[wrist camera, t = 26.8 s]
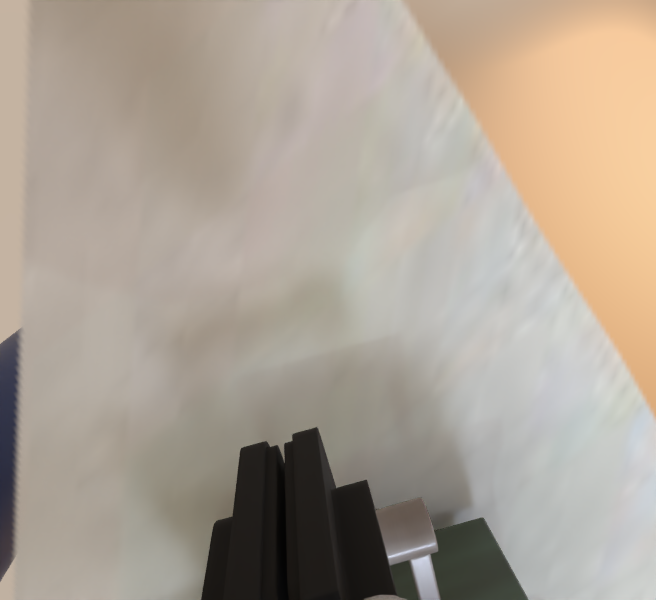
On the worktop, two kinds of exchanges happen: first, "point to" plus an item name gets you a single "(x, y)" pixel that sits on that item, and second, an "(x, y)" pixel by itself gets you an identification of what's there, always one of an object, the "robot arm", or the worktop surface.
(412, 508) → the drawer
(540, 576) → the worktop surface
